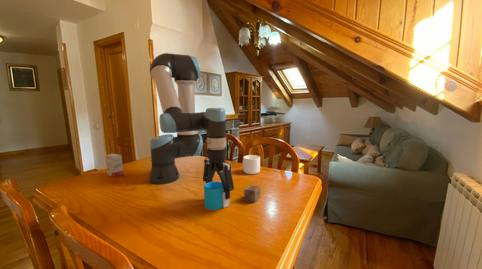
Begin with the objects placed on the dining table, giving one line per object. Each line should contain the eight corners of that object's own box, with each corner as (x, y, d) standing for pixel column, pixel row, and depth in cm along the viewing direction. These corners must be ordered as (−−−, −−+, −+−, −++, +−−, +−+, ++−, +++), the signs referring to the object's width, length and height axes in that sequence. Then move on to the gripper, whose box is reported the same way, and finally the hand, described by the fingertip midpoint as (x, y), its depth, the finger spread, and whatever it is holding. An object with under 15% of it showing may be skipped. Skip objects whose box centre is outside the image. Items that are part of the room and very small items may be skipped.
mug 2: (250, 167, 130) (250, 153, 129) (265, 170, 124) (265, 155, 123) (239, 172, 120) (239, 157, 119) (254, 176, 114) (254, 160, 113)
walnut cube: (244, 200, 86) (244, 189, 85) (249, 195, 91) (249, 184, 90) (255, 203, 84) (255, 191, 83) (260, 198, 88) (260, 186, 87)
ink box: (123, 175, 118) (121, 154, 116) (114, 177, 114) (112, 156, 112) (116, 172, 123) (114, 153, 121) (107, 174, 119) (104, 154, 117)
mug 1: (215, 212, 77) (215, 191, 76) (200, 206, 82) (199, 186, 80) (234, 199, 87) (234, 181, 85) (220, 195, 91) (219, 177, 90)
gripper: (192, 145, 85) (194, 197, 89) (228, 154, 71) (229, 215, 74) (207, 142, 91) (208, 191, 94) (243, 150, 76) (243, 207, 79)
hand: (217, 202), depth 84 cm, fingers open, 9 cm apart
